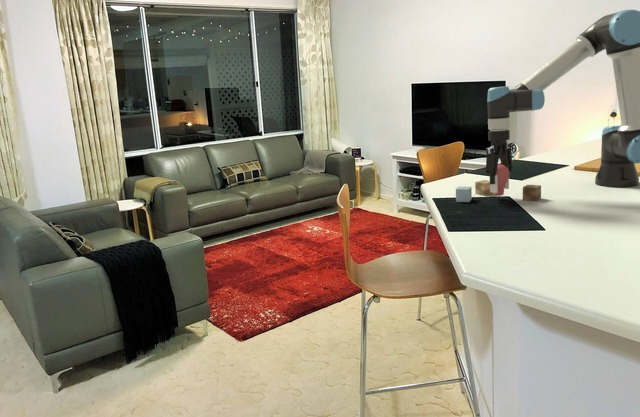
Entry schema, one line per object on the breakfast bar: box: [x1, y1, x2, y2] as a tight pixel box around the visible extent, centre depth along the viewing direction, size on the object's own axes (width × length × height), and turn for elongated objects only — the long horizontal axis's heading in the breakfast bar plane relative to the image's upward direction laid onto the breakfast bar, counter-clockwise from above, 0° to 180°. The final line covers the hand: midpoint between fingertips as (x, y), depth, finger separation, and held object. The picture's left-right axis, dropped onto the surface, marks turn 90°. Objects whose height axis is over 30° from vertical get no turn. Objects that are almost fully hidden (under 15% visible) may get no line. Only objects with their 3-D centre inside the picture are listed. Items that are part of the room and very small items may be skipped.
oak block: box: [474, 179, 495, 196], centre depth 205 cm, size 5×5×5 cm
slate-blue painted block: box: [455, 186, 472, 203], centre depth 196 cm, size 5×5×5 cm
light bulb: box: [494, 163, 510, 197], centre depth 192 cm, size 7×7×12 cm
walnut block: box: [522, 184, 542, 202], centre depth 190 cm, size 5×5×5 cm
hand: (499, 190), depth 193 cm, fingers closed on light bulb, 7 cm apart
